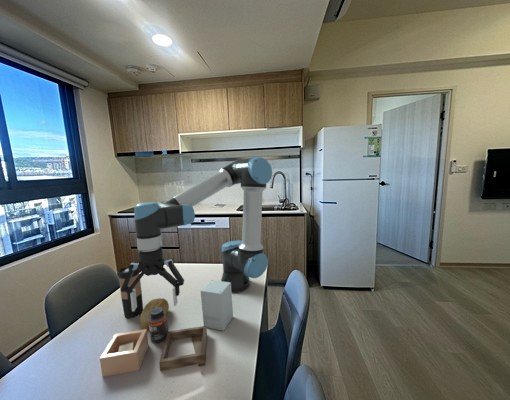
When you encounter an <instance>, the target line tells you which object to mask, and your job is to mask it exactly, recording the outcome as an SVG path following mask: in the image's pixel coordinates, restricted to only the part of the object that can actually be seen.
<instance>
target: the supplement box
mask: <svg viewBox="0 0 510 400" xmlns="http://www.w3.org/2000/svg"><path fill="white" fill-rule="evenodd" d="M232 294H233V293H232V292H231V283H230V282H222V281H221V280H213V279H212V280H211V281H209V283H207V284H206V285H205V286H203V288H202V289H200V298H201V310H202V311H201V312H202V321H203V326H206V328H207V329H208V328H209V329H214V330H218V331H225V329H226V328H227V327H228V325H229V324H230V322H231V321H232V320H233V317H234V310H233V296H232Z"/></svg>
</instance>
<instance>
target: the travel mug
mask: <svg viewBox="0 0 510 400" xmlns="http://www.w3.org/2000/svg"><path fill="white" fill-rule="evenodd" d="M128 272H129V266H128V267H122V268H120V269H119V270H118V272H117V273H118V280H119V289H120V290H121V288H122V285H123V283H124V281H125V279H126V276H127V274H128ZM139 274H140V269H139V268H138V267H137V268H136V270H134V273H133V275H132V277H131V279H130V282H129V284H128V287H130V286H131V285H132V283H133V282H134V281H135V279H136V278H137V277H138V276H139ZM133 289H135V290H136V300H137V308H136V309H135V311H132V306H131V301H128V296H127V292H121V291H120V290H119V291H120V298H121V303H122V310H123V314H124V315H123V316H124V317H125V318H126V319H133V318H137V317H138V316H141V313H142V311H143V309H144V306H143V305H144V304H143V302H144V301H143V292H142V283H141V279H140V280H139V282H138V283H137V284H136V285H135V287H134V288H133ZM133 289H132V290H133Z"/></svg>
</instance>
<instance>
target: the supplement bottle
mask: <svg viewBox="0 0 510 400" xmlns="http://www.w3.org/2000/svg"><path fill="white" fill-rule="evenodd" d="M149 329H150V330H149V335H150V342H151V343H152V344H153V345H154V344H156V345H157V344H161V343H163V342H164V343H165V341H166V337H167V334H168V331H169V325H168V318H167V313H166V314H165V313H164V312H163V309H162V308H161V307H158V308H154V309H153V310H152V311H151V316H150V318H149Z"/></svg>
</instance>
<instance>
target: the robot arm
mask: <svg viewBox="0 0 510 400" xmlns="http://www.w3.org/2000/svg"><path fill="white" fill-rule="evenodd" d="M272 176H273V168H272V166H271V163H269V161H268V160H267V159H266V158H264V157H262V156H260V157H259V156H254V157H247V158H240V159H236V160H234V161H233V162H231V163H229V164H227V165H226V166H224V167H222V168H220V169H219V171H218V172H217V173H215V174H213V175H212V176H210V177H208V178H206V179H205V180H202V181H201V182H199V183H196V184H195V185H193V186H192V187H189V188H188V189H186V190H184V191H182V192H180V193H178V194H177V195H175V196H173V197H172V198H171V197H170V198H169V199H167V200H165V201H160V202H155V201H153V202H152V201H150V202H149V201H146V202H139V203H137V204H135V205H134V206H133V207H134V209H133V210H134V211H133V213H134V215H133V216H134V217H133V218H134V226H135V233H136V245H137V246H136V247H137V255H138V263H137V262H134V261H132V262H131V263H130V264H129V266H128V267H129V272H128V274H127V276H126V279H125V281H124V283H123V285H122V288H121V290H119V291H120V293H121V292H127V296H128V301H131V306H132V311H135V309H136V308H137V300H136V290H135V289H133V288H134V287H135V285H136V284H137V283H138V282H139V280H140V281H141V279H142V278H143V277H144V275H145V276H147V277H148V276H157V275H159V276H161V277H162V278H164V279H165V280H166V281H167V282H168V283H169V284H170V285H171V286H173V287H172V298H173V299H172V301H173V307H176V306H177V305H178V297H179V295H180V292H181V291H180V286H184V283H185V279H184V277H183V276H182V275H181V273H180V271H179V269H178V268H177V267H176V265H175V262H174V259H173V258H170V259H167V260H164V254H163V251H164V250H163V247H162V246H163V244H162V243H163V240H162V229H169V228H175V227H181V226H187V225H191V224H193V223H194V221H195V218H196V215H195V214H196V213H195V210H194V207H195V206H196V205H198V204H199V203H201V202H203V201H205V200H206V199H208V198H210V197H212V196H213V195H215V194H216V193H218V192H220V191H222V190H224V189H225V188H227V187H228V188H231V187H232V186H234V185H236V184H237V185H238V184H240V188H241V189H242V190H243V203H242V204H243V205H242V230H241V231H242V233H241V240H238V239H237V240H230V241H227V242H225V243H223V244H222V245H221V256H222V257H221V258H222V271H223V273H222V276H221V279H220V281H222V282H230V283H231V292H232V294H233V293H241V292H243V291H245V290H247V289H249V287H250V285H251V279H257V278H259V277H261V276H262V275H263V274H264V273H265V272H266V270H267V268H268V264H269V259H268V258H269V257H267V255H266V254H265V253H264V246H263V245H262V244H261V243H262V242H261V239H262V237H261V235H262V215H263V213H262V212H263V193H264V191H265V190H266V189H267V184H268V183H269V182H270V180H271V179H272ZM164 266H166V267H167V268H168V269H169V271H170V272H171V273H169V272H168V271H167V269H166V268H165V267H164ZM137 267H138V268H139V271H141V272H139V276H138V277H137V278H136V279H135V281H134V282H133V283H132V285H131V286H130V287H128V284H129V282H130V279H131V277H132V275H133V273H134V270H136V268H137ZM250 278H251V279H250ZM132 289H133V290H132Z"/></svg>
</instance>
